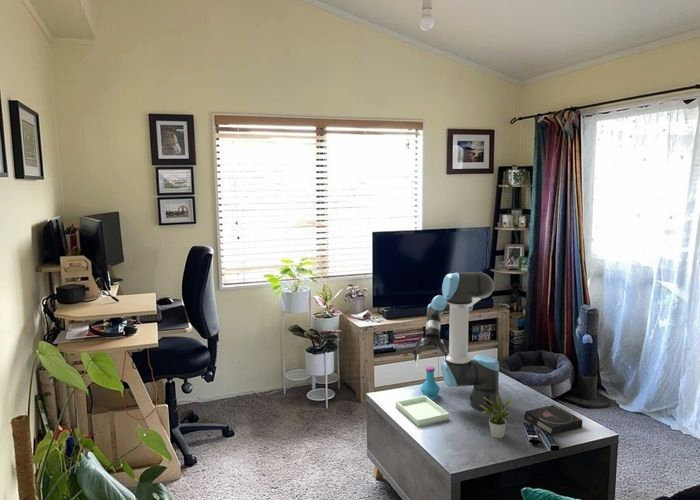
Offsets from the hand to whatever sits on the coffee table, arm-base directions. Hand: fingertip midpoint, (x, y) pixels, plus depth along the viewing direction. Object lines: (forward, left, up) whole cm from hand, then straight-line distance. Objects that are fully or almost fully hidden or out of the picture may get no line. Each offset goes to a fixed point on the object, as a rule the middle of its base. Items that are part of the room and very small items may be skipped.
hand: (430, 368), depth 262 cm
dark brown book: (-60, -11, -13) cm, 62 cm away
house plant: (-49, +14, -12) cm, 52 cm away
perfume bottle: (-5, +6, -12) cm, 14 cm away
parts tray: (-14, +23, -12) cm, 29 cm away
